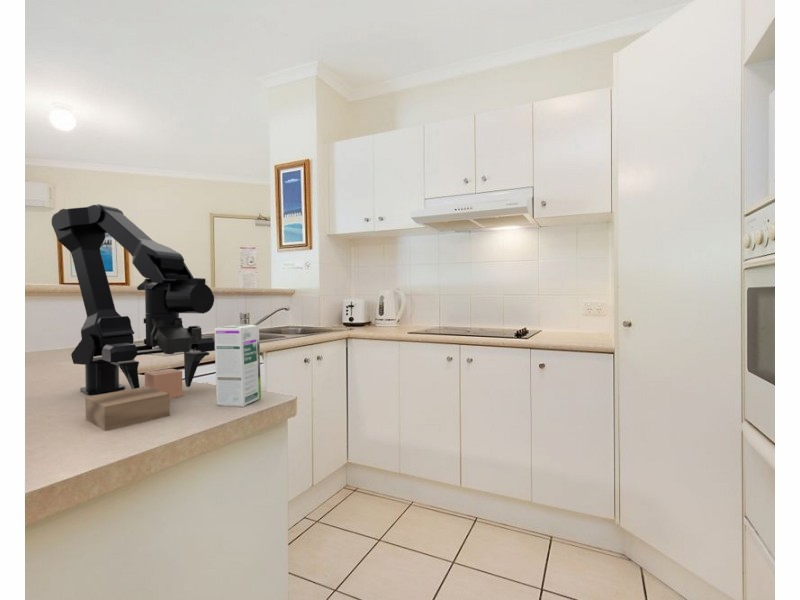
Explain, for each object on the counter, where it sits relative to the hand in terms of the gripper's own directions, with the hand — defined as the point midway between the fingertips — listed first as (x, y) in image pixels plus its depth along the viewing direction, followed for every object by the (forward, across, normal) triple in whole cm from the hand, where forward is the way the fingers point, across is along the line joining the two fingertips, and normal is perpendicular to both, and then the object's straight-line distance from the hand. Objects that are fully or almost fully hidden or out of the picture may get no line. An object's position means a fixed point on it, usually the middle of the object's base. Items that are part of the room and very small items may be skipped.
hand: (163, 391), depth 77 cm
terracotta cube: (+1, 0, 0) cm, 1 cm away
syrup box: (+1, +7, -16) cm, 18 cm away
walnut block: (+1, -9, -10) cm, 14 cm away
